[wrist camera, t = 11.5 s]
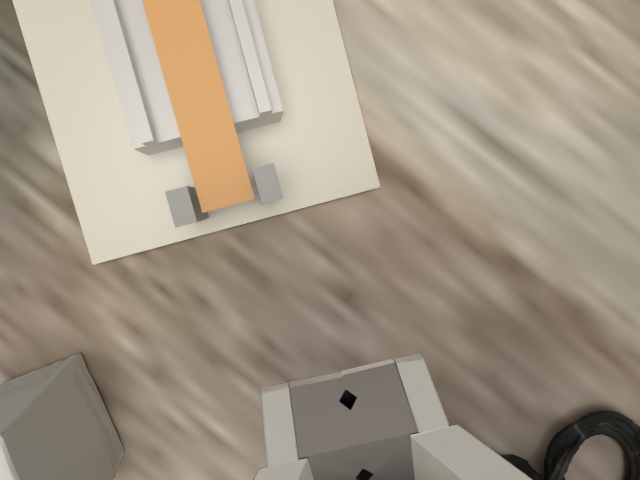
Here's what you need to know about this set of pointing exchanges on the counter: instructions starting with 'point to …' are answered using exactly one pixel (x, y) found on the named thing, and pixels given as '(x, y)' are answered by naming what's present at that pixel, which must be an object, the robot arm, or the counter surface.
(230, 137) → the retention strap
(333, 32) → the socket board
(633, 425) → the coffee maker
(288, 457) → the robot arm
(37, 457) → the skincare box
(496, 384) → the counter surface
